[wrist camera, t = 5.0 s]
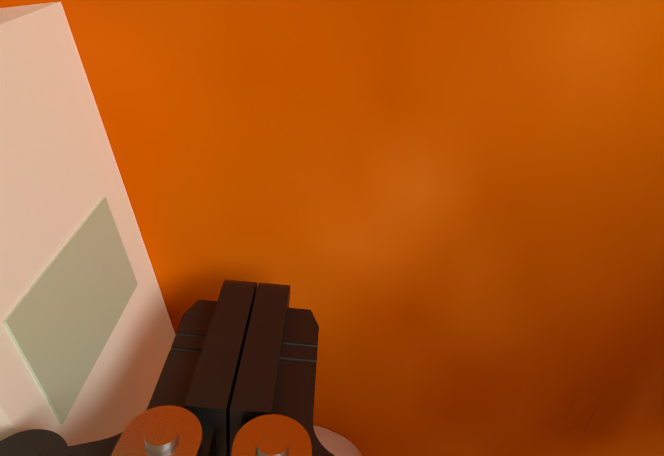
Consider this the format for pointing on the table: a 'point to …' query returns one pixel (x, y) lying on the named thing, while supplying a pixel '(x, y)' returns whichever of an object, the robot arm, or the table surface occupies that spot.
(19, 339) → the carton
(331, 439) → the cream round-ended cylinder
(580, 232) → the table surface
